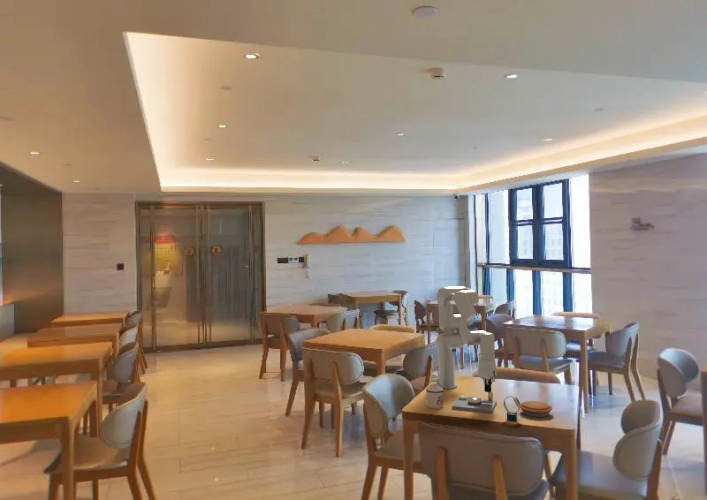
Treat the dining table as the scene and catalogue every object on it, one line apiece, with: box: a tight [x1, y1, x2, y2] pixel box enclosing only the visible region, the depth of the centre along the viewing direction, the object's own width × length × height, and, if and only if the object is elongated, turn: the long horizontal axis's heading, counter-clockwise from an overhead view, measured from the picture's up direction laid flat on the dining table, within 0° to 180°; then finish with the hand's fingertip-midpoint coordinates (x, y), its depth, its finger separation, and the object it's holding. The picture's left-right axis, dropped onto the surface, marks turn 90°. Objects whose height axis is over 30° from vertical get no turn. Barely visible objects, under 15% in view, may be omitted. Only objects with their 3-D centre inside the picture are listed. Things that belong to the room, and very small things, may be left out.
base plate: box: [451, 395, 497, 414], centre depth 272 cm, size 20×18×3 cm
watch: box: [502, 395, 521, 422], centre depth 251 cm, size 6×8×11 cm
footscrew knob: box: [467, 391, 494, 404], centre depth 271 cm, size 13×7×6 cm, turn 68°
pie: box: [520, 400, 553, 418], centre depth 259 cm, size 16×16×5 cm
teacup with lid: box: [425, 382, 444, 409], centre depth 274 cm, size 12×9×12 cm
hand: (487, 391), depth 275 cm, fingers closed
